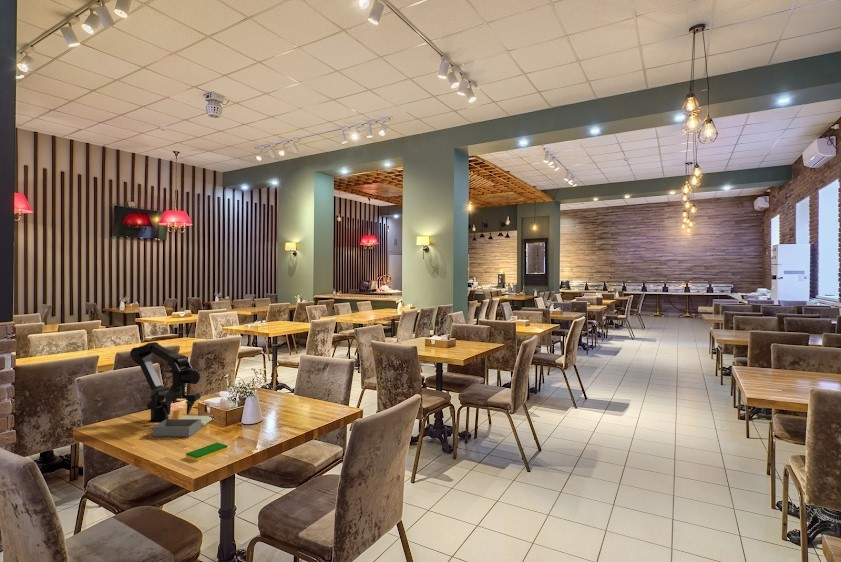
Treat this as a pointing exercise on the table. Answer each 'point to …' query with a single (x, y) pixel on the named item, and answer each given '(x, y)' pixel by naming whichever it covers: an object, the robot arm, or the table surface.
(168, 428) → the tub
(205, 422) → the lid
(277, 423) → the table surface
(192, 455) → the dish sponge
